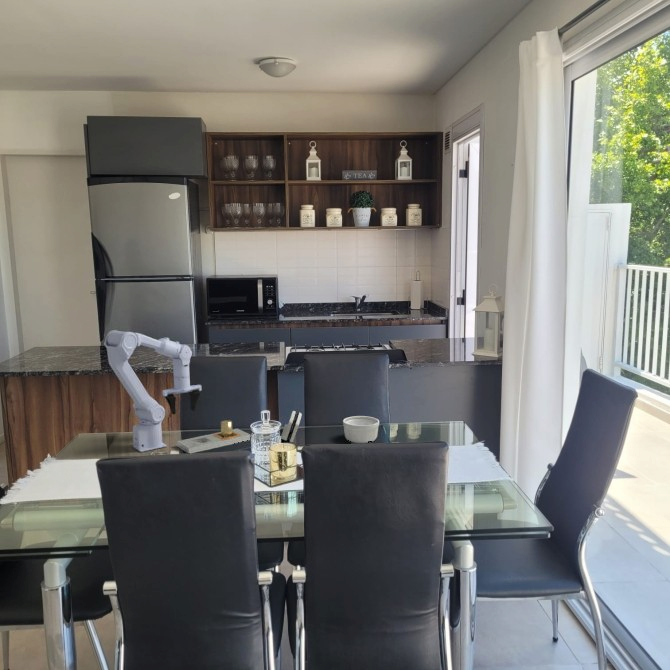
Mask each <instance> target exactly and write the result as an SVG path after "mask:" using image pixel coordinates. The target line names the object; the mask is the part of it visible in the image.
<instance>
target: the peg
mask: <svg viewBox="0 0 670 670" xmlns="http://www.w3.org/2000/svg"><path fill="white" fill-rule="evenodd" d="M232 430H233V421H232V420H221V421H220V432H221V437H223V438H225V437H230V436H232Z"/></svg>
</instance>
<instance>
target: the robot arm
mask: <svg viewBox="0 0 670 670" xmlns="http://www.w3.org/2000/svg"><path fill="white" fill-rule="evenodd" d="M103 345H104V347H105V348H106V352H107V360H108V364H109V366H110V368H111V369H112V371H113V372H114V374H115V376H116V377H117V378H118V380H119V381H120V382H121V385H122V386H123V388H124V389H125V391H126V392H127V394H128V395H129V397H131V400H132V401H133V404H132V408H133V410H134V414H135V417H136V418H137V419H138V422H139V423H138V424H134V425H133V427H132V440H133V441H132V442H133V445H132V447H133V448H134V449H135V450H137V451H138V452H140V453H142V452H147V451H151V450H156V449H161V448H165V447H167V444H165V443H164V442H163V434H162V433H163V431H162V423H163V420H164V418H165V416H166V409H165V408H164V406H163V405H161V404H159V403H158V402H157V400H155V399H154V398H153V397H151V395H149V393H148V391H147V390H146V388H145V387H144V385H143V384H142V382H141V381H140V379H139V377H138V376H137V374H136V373H135V371H134V369H133V368H132V366H131V365H130V363H129V359H130V358H131V356H132V355H133V352H135V349H136V348H137V347H140V346H143V347H147V348H151V349H154V350H155V353H156V354H159V355H163V356H166V357H168V358H170V359H172V367H173V370H172V371H173V387H171V388H168V389H163V390H161V391H162V392H161V393H162V396H163V397H164V398H165V400H166V401H167V403H168V407H169V409H170V411H171V414H172V415H176V413H177V412H176V400H177V397H176V396H175V395H176V394H177V395H178V394H184V393H185V394H186V393H189V400H190V410H191V411H193V412H194V411H196V407H197V402H198V400H199V397H200V395H201V391H202V390H203V389H202V384H196V385H195V384H194V385H191V380H190V375H191V374H190V364H191V357H192V354H193V351H192V350H191V348H190V346H189V345H187V344H182V343H181V344H180V342H179V341H176V340H175V341H172V340H170V337H163V338H162V337H161V338H159V339H156V338H152V337H150V336H147V335H145V334H143V333H140V332H139V333H138V332H132V331H122V330H121V331H119V330H117V329H116V330H115V329H113V330H110V331H109V332H108V333H107V335H106V336H105V340H104V342H103Z"/></svg>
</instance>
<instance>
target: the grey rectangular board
mask: <svg viewBox="0 0 670 670" xmlns="http://www.w3.org/2000/svg"><path fill="white" fill-rule="evenodd" d="M250 437H251V434H250V433H249V432H245V431H244V430H241V429H239V428H234V429H233V428H232V436H230V437H225V438H223V437H221V431H220V432H219V431H218V432H214V433H211V434H205V435H199V436H195V437H191V438H187V439H181V440H177V441H176V446H177V448H179V449H181V450H183V451H184V452H185V453H186V454H188V453H190V454H194V453H198V452H203V451H208V450H212V449H217V448H221V447H225V446H230V445H233V444H234V443H235V444H238V442H239V443H243V442H242V441H244V442H248V441H250ZM251 438H252V437H251ZM247 440H248V441H247Z"/></svg>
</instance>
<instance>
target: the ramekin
mask: <svg viewBox="0 0 670 670" xmlns="http://www.w3.org/2000/svg"><path fill="white" fill-rule="evenodd" d="M342 425H343V431H344V432H343V433H344V437H345V439H346V440H347V441H348V440H349V441H348V442H350V441H351V442H350V443H354V444H367V443H368V441H372V442H374V441H375V440H376V439H377V437H378V432H379V426H380V420H379V419H378V418H375V417H372V416H365V415H356V416H355V415H354V416H349V417H345V418H344V419H343V420H342ZM368 444H369V443H368Z"/></svg>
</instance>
